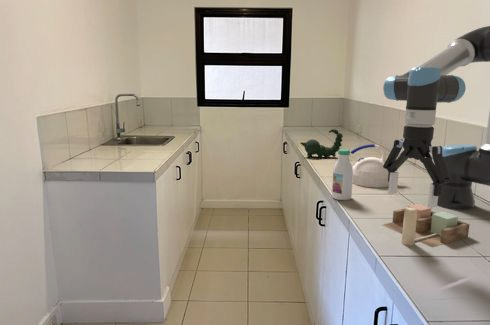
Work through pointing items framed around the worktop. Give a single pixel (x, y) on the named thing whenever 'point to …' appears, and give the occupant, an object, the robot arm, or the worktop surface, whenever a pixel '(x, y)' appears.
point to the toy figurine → (315, 148)
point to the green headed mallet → (438, 223)
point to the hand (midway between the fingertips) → (411, 199)
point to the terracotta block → (421, 210)
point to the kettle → (370, 170)
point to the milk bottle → (342, 176)
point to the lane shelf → (429, 229)
